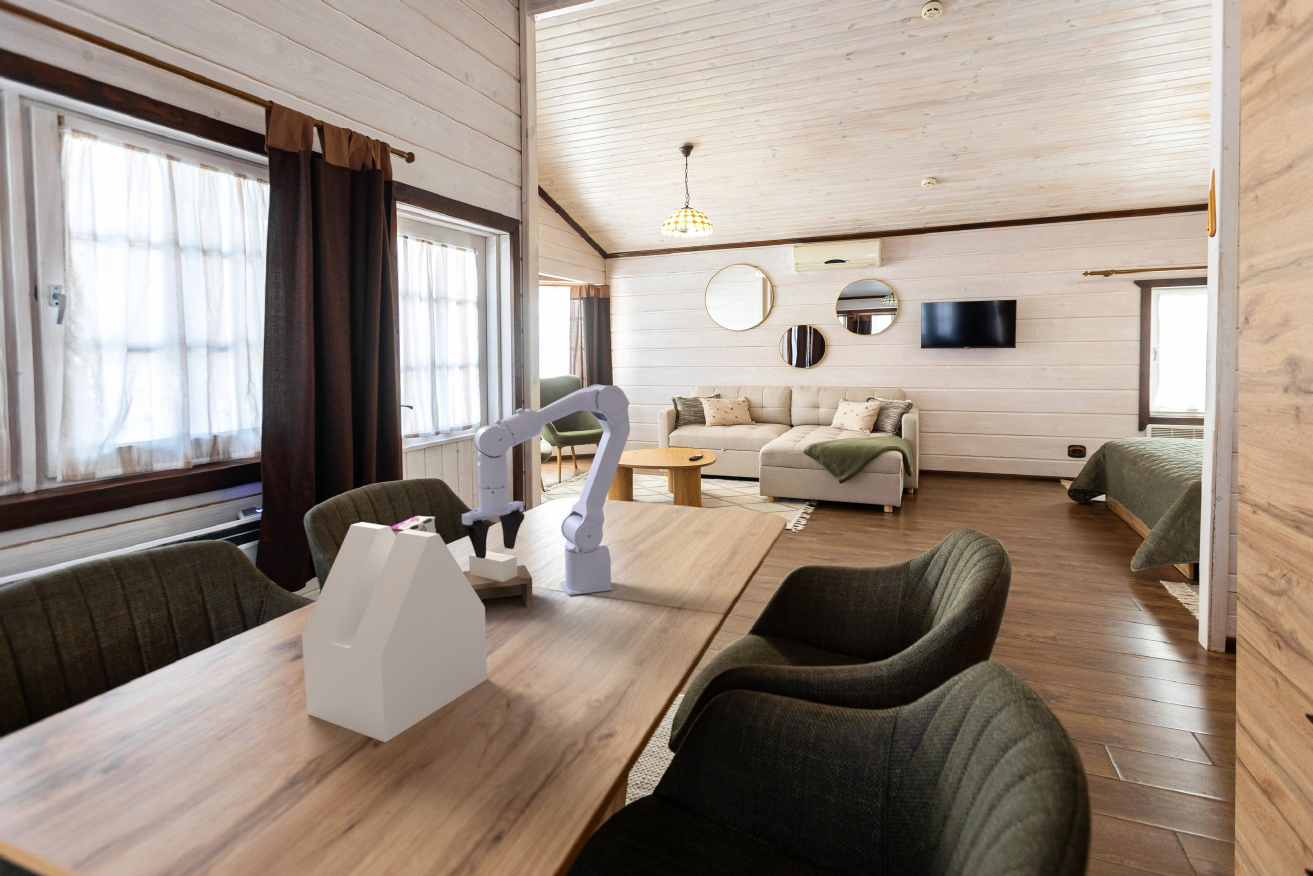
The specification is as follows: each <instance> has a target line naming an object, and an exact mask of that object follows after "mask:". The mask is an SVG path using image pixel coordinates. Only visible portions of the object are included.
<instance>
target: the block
mask: <svg viewBox="0 0 1313 876" xmlns="http://www.w3.org/2000/svg"><path fill="white" fill-rule="evenodd" d="M468 559H469V562H468V563H469V571H470V574H471V575H475V576H479V577H484V578H488V579H493V580H497V581H502V582H504V581H506V580H509V579H511V578H514V577H516V576H517V566H518V564H517V563H518V558H517V556H516V555H515V556H514V555H511V554H505V553H500V552H495V551H491V550H486V557H485V558H478V557H476V555H475V552H473V553H471V554H468Z"/></svg>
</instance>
